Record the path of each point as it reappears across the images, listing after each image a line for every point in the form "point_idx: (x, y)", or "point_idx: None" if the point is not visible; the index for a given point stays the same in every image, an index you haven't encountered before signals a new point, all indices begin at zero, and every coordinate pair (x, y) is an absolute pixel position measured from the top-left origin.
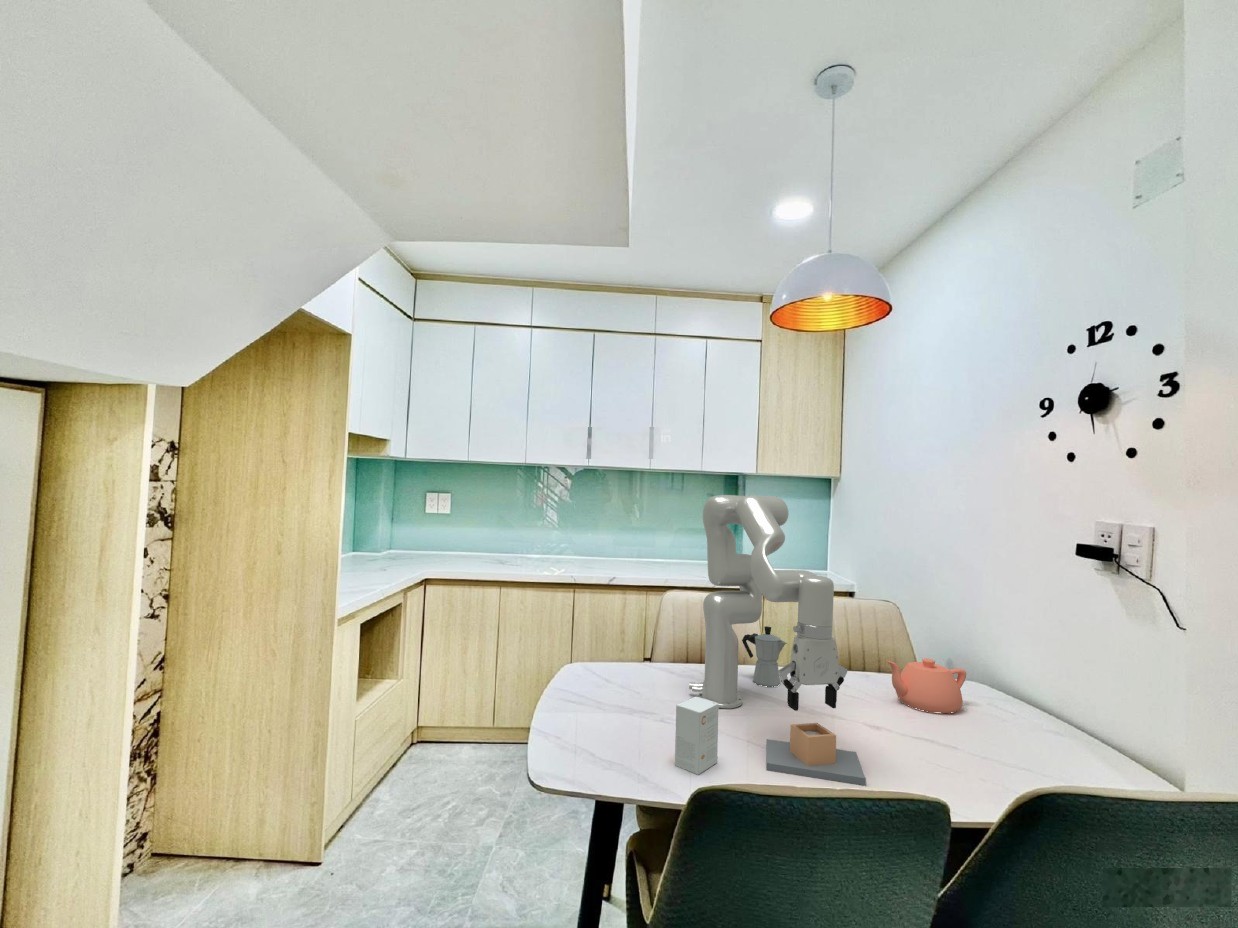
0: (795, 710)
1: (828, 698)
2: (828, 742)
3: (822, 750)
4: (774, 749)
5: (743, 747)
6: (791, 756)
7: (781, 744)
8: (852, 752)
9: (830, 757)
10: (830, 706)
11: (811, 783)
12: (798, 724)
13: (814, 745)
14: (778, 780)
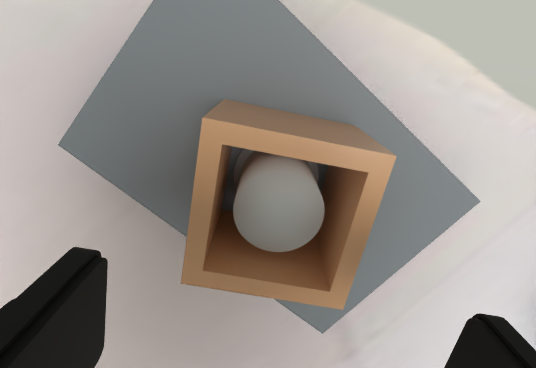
0: (499, 318)
1: (69, 365)
2: (258, 121)
3: (292, 121)
4: (361, 269)
5: (398, 329)
6: None
7: None
8: (77, 146)
9: (248, 107)
10: (104, 287)
11: (402, 51)
12: (300, 298)
13: (342, 137)
14: (492, 118)
